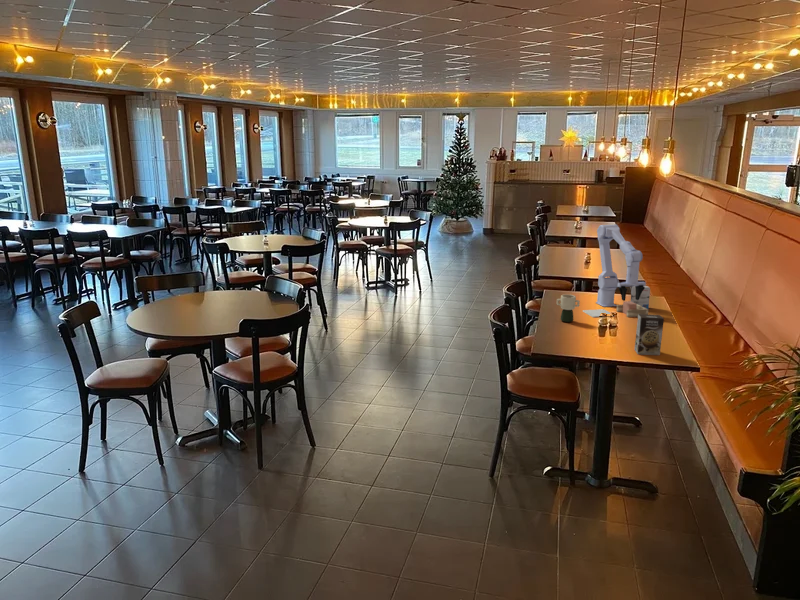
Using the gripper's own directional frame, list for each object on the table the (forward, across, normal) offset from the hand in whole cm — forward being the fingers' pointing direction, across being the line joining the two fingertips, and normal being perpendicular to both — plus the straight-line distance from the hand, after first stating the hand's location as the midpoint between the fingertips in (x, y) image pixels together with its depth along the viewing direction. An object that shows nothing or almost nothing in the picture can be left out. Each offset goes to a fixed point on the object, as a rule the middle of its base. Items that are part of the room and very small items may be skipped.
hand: (630, 300), depth 310 cm
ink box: (+8, +12, +10) cm, 17 cm away
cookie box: (+8, -24, -58) cm, 63 cm away
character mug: (+8, -38, -7) cm, 39 cm away
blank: (+8, 0, 0) cm, 8 cm away
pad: (+7, -16, +3) cm, 17 cm away
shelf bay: (+7, +1, 0) cm, 7 cm away
